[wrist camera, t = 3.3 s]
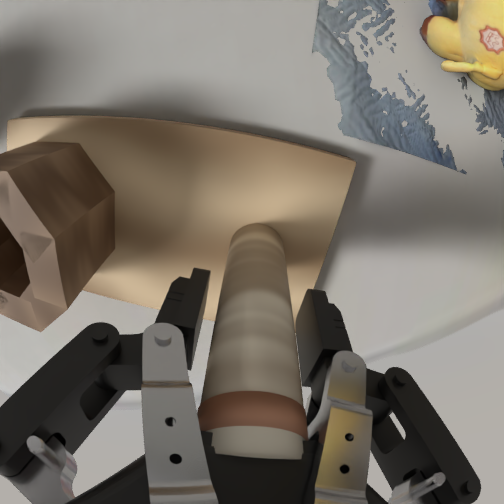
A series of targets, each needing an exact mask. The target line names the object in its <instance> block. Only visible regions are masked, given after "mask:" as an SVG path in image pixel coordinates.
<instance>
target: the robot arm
mask: <svg viewBox="0 0 504 504" xmlns="http://www.w3.org/2000/svg"><path fill="white" fill-rule="evenodd" d="M210 274H211V270H206V269H200V268H195V267H194V268H193V271H192V274H191V276H190V278H185V277H180V276H179V277H178V278H177V279H176V280H174V281H173V282H172V283H171V285H170V288H169V290H168V292H167V295H166V297H165V299H164V302H163V304H162V306H161V309H160V311H159V314H158V316H157V318H156V321H155V323H154V324H152V325H150V326H149V327H147V328H146V329H145V331H144V332H143V333H140V334H131V335H119V332H118V330H117V329H116V328H115V327H114V326H113V325H111V324H108V323H103V322H99V323H93V324H91V325H89V326H87V327H86V328H85V329H84V330H83V331H81V332H80V333H79V334H78V335H77V336H76V337H75V338H73V339H72V340H71V341H70V342H69V343H68V344H67V345H66V346H64V347H63V348H62V349H61V350H60V351H59V352H58V353H57V354H56V355H54V356H53V357H52V358H51V359H50V360H49V361H48V362H47V363H46V364H45V365H44V366H42V367H41V368H40V369H39V370H38V371H37V372H36V373H35V374H34V375H33V376H32V377H31V378H30V379H29V380H27V381H26V382H25V383H24V384H23V385H22V386H21V387H20V388H19V389H18V390H17V391H16V392H15V393H14V394H13V395H12V396H11V397H10V398H9V399H8V400H7V401H6V402H5V403H4V404H3V405H2V406H1V407H0V475H2V476H4V477H5V478H7V479H8V480H10V481H11V482H12V484H13V485H14V486H15V487H16V488H17V489H18V490H19V491H20V492H21V493H22V494H23V495H24V496H25V497H26V498H27V499H28V500H29V501H30V502H31V503H32V504H471V503H473V502H475V501H476V500H477V498H478V497H479V494H480V491H481V484H480V480H479V478H478V477H477V475H476V473H475V471H474V470H473V468H472V466H471V465H470V463H469V462H468V460H467V458H466V457H465V455H464V453H463V452H462V450H461V449H460V447H459V446H458V444H457V442H456V441H455V439H454V438H453V436H452V435H451V433H450V432H449V430H448V429H447V427H446V426H445V424H444V423H443V421H442V420H441V418H440V417H439V415H438V414H437V412H436V411H435V409H434V408H433V406H432V405H431V403H430V402H429V401H428V399H427V398H426V396H425V395H424V393H423V392H422V391H421V390H420V388H419V387H418V385H417V383H416V382H415V381H414V379H413V378H412V376H411V375H410V374H409V373H408V372H407V371H405V370H404V369H402V368H398V367H392V368H389V369H388V370H387V371H386V373H385V374H382V373H379V372H376V371H373V370H370V369H367V368H366V364H365V362H364V360H363V359H362V358H361V357H360V356H359V355H357V354H355V353H353V351H352V347H351V344H350V341H349V337H348V334H347V331H346V329H345V324H344V322H343V318H342V315H341V312H340V311H339V309H338V308H337V307H336V306H335V305H334V304H331V303H329V302H328V299H327V295H326V292H325V291H321V290H315V289H307V291H306V293H305V296H304V298H303V301H302V304H301V306H300V309H299V311H298V314H297V317H296V323H295V330H296V338H297V346H298V355H299V363H300V372H301V381H302V386H305V387H311V390H312V392H311V394H310V395H309V397H308V400H307V404H306V408H305V412H306V419H307V429H308V439H309V441H303V453H302V458H301V459H268V458H253V457H242V456H233V455H225V454H217V453H215V448H214V446H211V445H212V436H213V433H212V432H206V431H200V427H199V421H198V416H197V410H196V405H195V399H194V393H193V387H192V384H191V383H190V382H189V377H188V370H191V369H192V364H193V360H194V355H195V351H196V346H197V342H198V338H199V333H200V329H201V325H202V320H203V316H204V312H205V307H206V301H207V294H208V288H209V281H210ZM126 390H141V395H142V418H143V433H144V446H145V454H144V455H142V456H141V457H140V458H138V459H137V460H135V461H134V462H132V463H131V464H129V465H128V466H126V467H125V468H123V469H122V470H120V471H119V472H117V473H115V474H114V475H112V476H111V477H109V478H108V479H106V480H104V481H103V482H101V483H99V484H98V485H96V486H94V487H93V488H91V489H89V490H88V491H86V492H84V493H83V494H81V495H79V496H77V497H75V496H74V494H73V491H72V483H73V480H74V478H75V476H76V473H77V464H76V461H75V459H74V457H73V456H72V455H73V454H74V453H75V451H76V450H77V449H78V448H79V446H80V445H81V444H82V443H83V442H84V440H85V439H86V438H87V437H88V435H89V434H90V433H91V432H92V431H93V430H94V428H95V427H96V426H97V425H98V423H99V422H100V421H101V420H102V419H103V417H104V416H105V415H106V414H107V413H108V411H109V410H110V409H111V408H112V407H113V405H114V404H115V403H116V402H117V401H118V399H119V398H120V397H121V396H122V395H123V393H124V392H125V391H126ZM392 412H393V413H394V414H395V415H396V417H397V419H398V421H399V422H400V424H401V425H402V427H403V428H404V430H405V433H406V437H405V440H404V439H403V437H402V436H401V434H400V432H399V431H398V429H397V428H396V426H395V424H394V423H393V421H392V419H391V418H390V416H389V415H390V414H391V413H392ZM370 450H371V452H372V454H373V456H374V457H375V459H376V461H377V463H378V465H379V467H380V468H381V470H382V472H383V474H384V475H385V478H386V479H387V481H388V483H389V485H390V487H391V489H392V491H393V492H392V497H391V498H390V499H389V501H388V502H386V501H385V500H384V499H383V498H382V497H381V496H380V495H379V494H378V493H377V492H376V491H375V490H374V489H373V488H371V487H370V486H369V485H368V484H367V475H368V468H369V457H370Z"/></svg>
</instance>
